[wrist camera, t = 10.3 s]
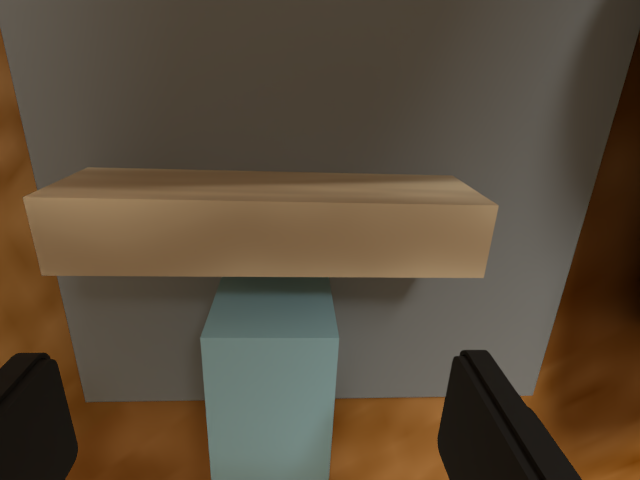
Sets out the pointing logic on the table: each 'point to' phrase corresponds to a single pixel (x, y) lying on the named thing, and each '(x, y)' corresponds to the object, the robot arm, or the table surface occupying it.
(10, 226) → the table surface
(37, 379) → the robot arm
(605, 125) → the panel
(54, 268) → the plank
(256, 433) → the block
